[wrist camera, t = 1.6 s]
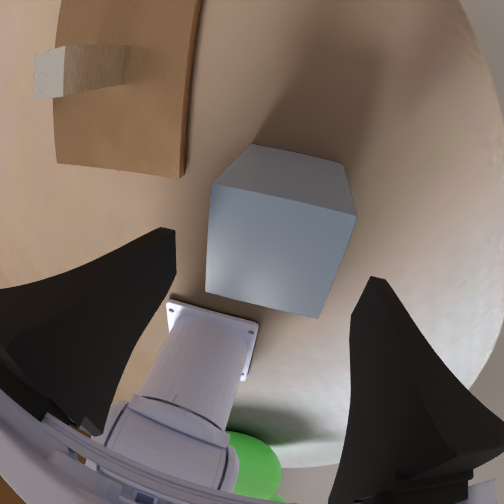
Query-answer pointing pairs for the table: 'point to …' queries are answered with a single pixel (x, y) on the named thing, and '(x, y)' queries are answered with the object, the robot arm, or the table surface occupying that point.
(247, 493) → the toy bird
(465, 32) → the table surface
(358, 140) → the table surface
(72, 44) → the wooden board
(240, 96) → the table surface
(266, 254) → the pale blue cuboid
